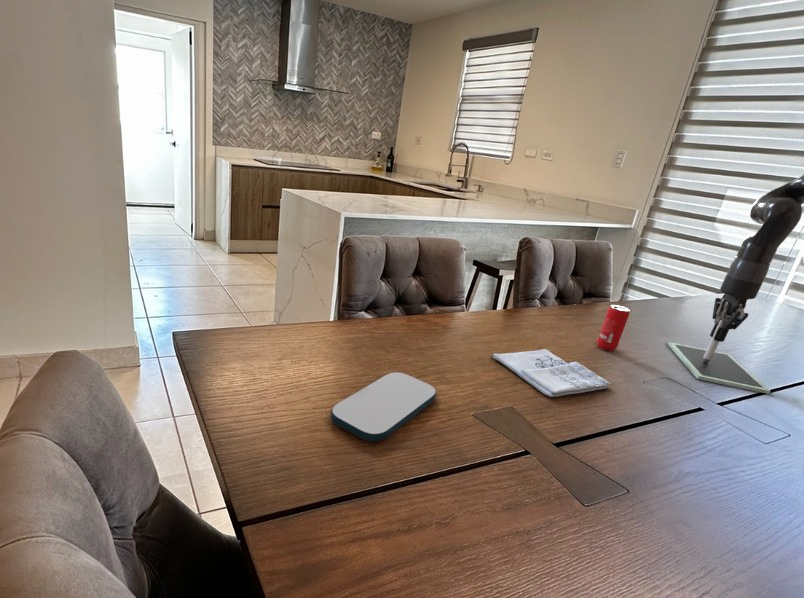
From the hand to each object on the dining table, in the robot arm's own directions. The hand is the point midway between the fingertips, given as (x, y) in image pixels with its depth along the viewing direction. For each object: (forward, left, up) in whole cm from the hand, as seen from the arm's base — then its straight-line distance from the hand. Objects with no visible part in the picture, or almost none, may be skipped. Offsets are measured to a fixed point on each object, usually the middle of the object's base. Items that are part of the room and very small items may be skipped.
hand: (716, 338), depth 125 cm
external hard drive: (+77, +61, -8) cm, 98 cm away
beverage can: (+26, +2, -8) cm, 27 cm away
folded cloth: (+44, +28, -8) cm, 52 cm away
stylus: (0, 0, -7) cm, 7 cm away
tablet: (-2, 0, -8) cm, 8 cm away
